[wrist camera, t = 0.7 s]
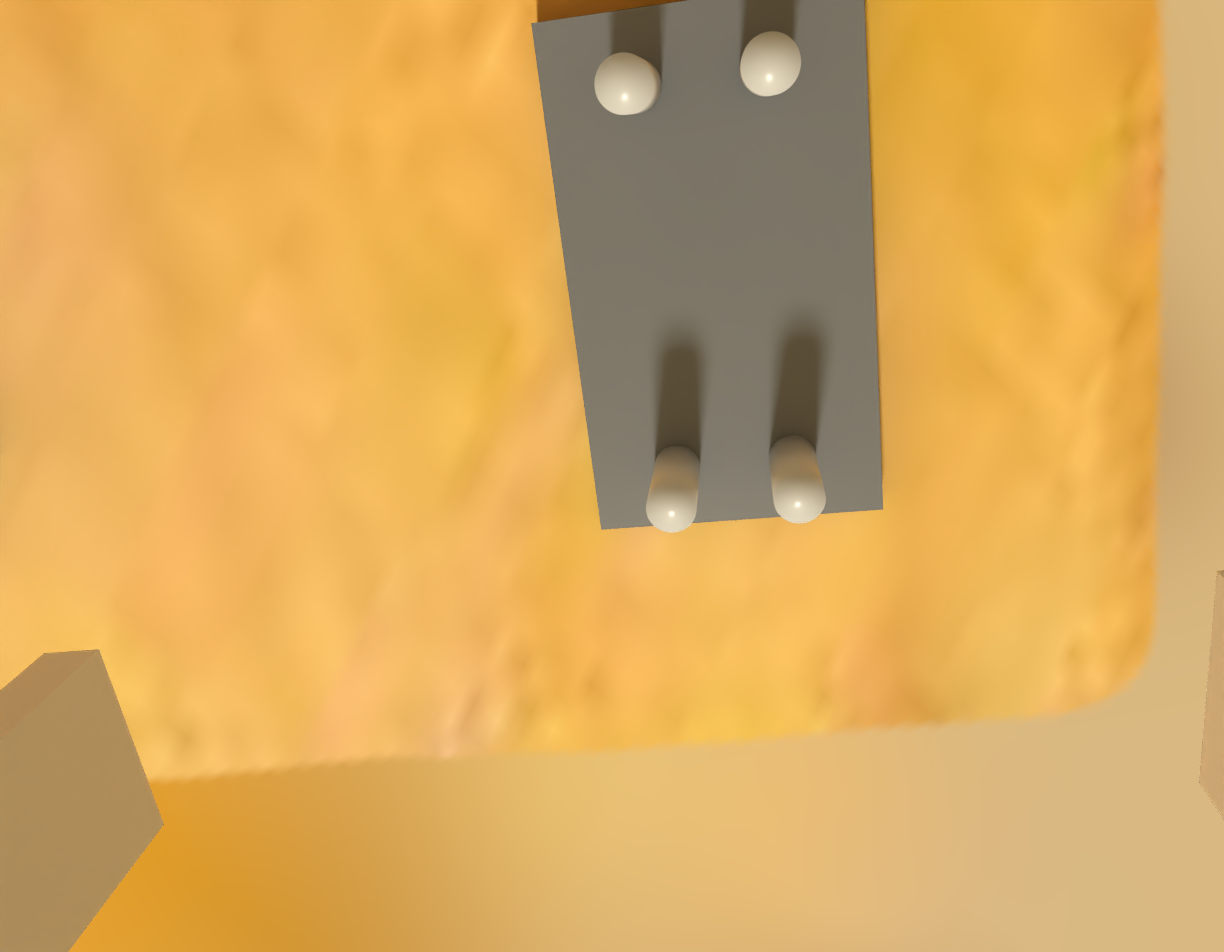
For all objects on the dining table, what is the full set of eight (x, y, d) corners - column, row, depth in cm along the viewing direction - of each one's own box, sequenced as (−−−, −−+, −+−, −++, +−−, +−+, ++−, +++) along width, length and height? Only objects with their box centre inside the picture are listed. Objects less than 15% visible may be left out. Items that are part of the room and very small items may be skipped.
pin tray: (537, 25, 32) (504, 12, 27) (859, -22, 30) (882, -45, 26) (604, 519, 38) (586, 578, 33) (879, 498, 36) (901, 557, 31)
